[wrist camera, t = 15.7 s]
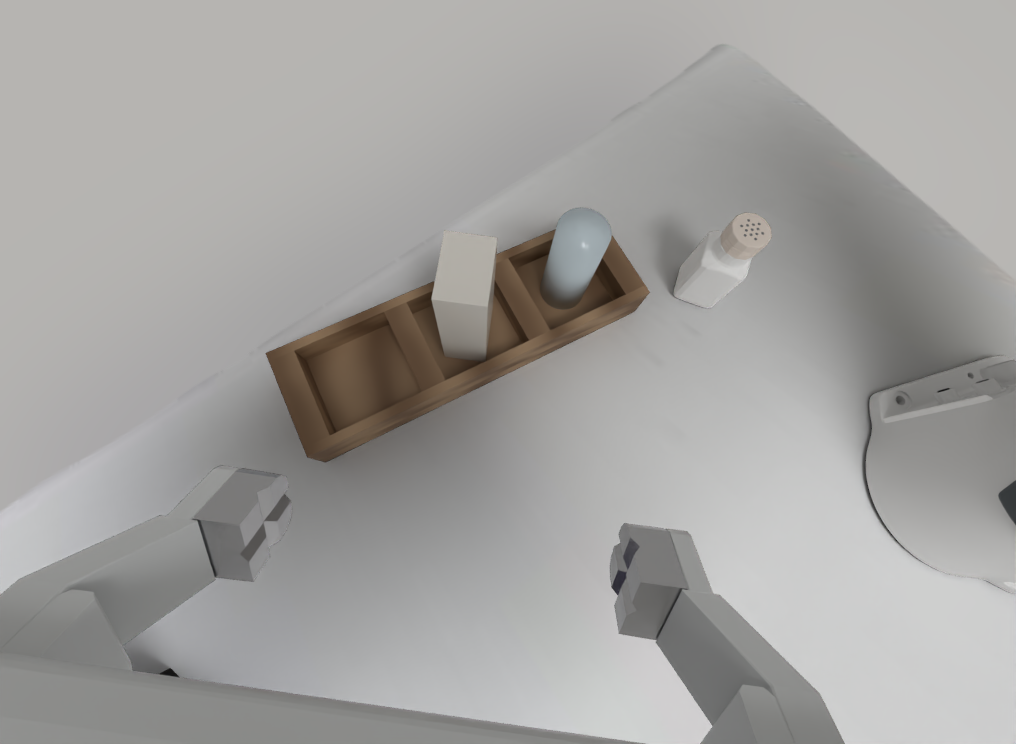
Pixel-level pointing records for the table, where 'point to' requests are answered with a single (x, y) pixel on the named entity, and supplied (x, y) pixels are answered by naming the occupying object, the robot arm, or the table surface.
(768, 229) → the pepper shaker
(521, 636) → the table surface
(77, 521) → the table surface
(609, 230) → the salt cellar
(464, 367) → the rack
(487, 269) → the clay block
